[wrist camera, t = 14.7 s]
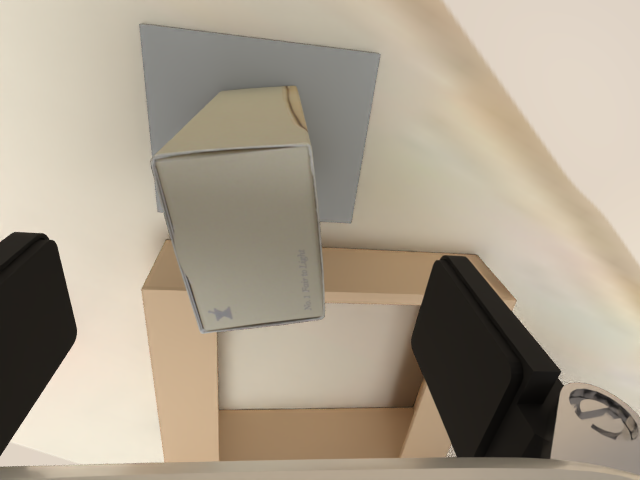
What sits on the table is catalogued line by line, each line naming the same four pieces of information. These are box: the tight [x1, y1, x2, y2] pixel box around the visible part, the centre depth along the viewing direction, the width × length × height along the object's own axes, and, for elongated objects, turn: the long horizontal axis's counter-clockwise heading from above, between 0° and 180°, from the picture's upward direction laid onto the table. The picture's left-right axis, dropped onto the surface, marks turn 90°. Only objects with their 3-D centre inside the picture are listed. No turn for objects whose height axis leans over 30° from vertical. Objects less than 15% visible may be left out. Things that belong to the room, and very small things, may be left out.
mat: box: [139, 24, 380, 223], centre depth 22 cm, size 12×10×1 cm
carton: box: [141, 240, 517, 463], centre depth 25 cm, size 22×18×12 cm
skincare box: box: [150, 86, 325, 334], centre depth 17 cm, size 6×4×12 cm
